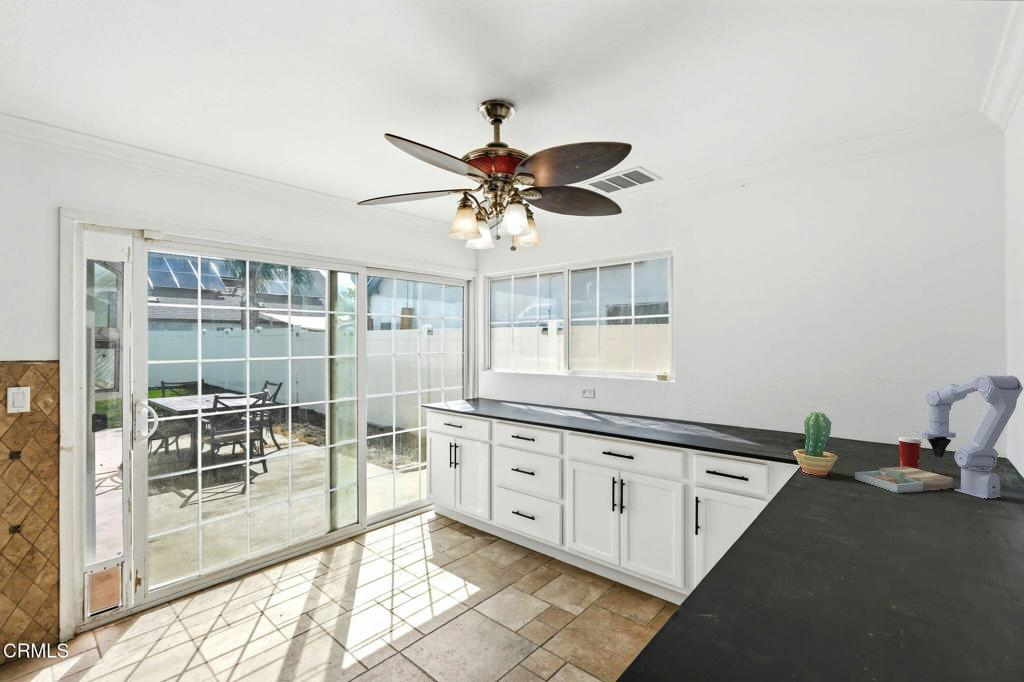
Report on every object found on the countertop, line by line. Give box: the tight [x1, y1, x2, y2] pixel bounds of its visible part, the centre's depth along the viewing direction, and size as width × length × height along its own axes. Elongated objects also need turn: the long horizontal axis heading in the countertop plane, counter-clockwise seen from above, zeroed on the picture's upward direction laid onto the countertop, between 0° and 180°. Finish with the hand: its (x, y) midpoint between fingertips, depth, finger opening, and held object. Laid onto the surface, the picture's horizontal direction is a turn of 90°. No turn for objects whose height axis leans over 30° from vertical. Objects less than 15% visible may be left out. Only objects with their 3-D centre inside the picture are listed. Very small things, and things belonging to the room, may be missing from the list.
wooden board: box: [878, 466, 953, 492], centre depth 179 cm, size 16×14×4 cm
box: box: [854, 470, 924, 494], centre depth 176 cm, size 16×12×3 cm
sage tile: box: [886, 469, 904, 484], centre depth 176 cm, size 5×5×2 cm
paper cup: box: [897, 435, 923, 470], centre depth 196 cm, size 8×8×14 cm
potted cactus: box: [792, 411, 839, 475], centre depth 191 cm, size 15×15×25 cm
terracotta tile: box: [873, 475, 897, 484], centre depth 175 cm, size 5×5×2 cm
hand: (938, 456), depth 183 cm, fingers closed
